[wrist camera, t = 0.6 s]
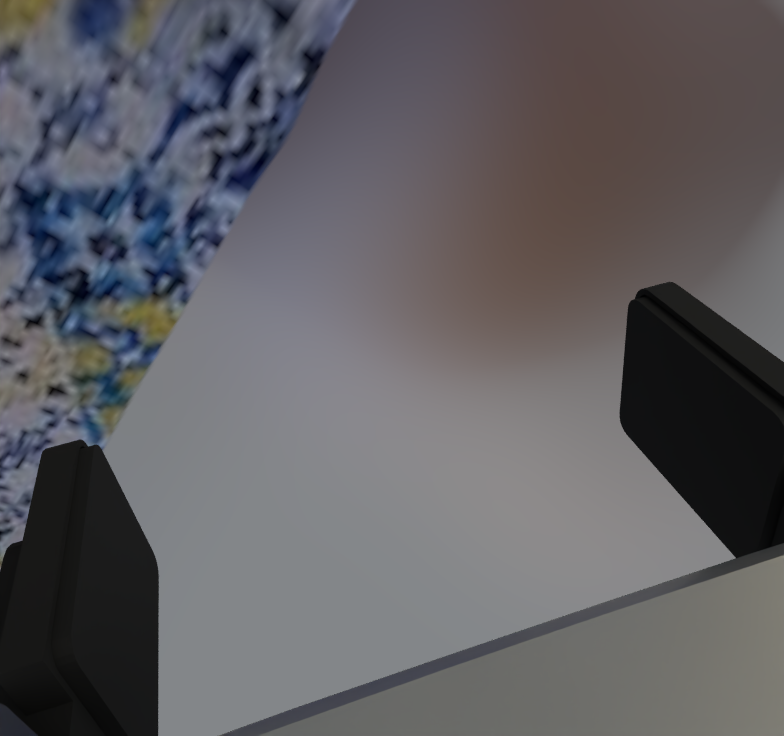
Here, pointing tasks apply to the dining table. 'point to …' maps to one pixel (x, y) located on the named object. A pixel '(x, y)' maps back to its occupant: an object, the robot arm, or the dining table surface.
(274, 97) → the dining table surface
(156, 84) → the dining table surface
